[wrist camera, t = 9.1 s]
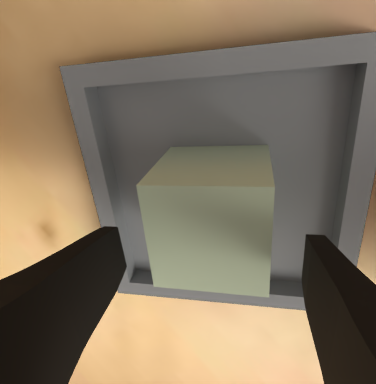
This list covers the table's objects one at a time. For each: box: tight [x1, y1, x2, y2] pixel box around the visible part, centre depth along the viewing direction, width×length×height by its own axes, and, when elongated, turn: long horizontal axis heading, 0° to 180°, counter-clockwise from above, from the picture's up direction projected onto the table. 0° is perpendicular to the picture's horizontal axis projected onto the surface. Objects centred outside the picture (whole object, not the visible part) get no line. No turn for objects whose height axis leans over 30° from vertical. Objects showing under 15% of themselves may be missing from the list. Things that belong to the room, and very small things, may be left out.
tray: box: [60, 32, 376, 310], centre depth 15 cm, size 14×14×2 cm
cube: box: [136, 145, 275, 298], centre depth 13 cm, size 5×5×5 cm
